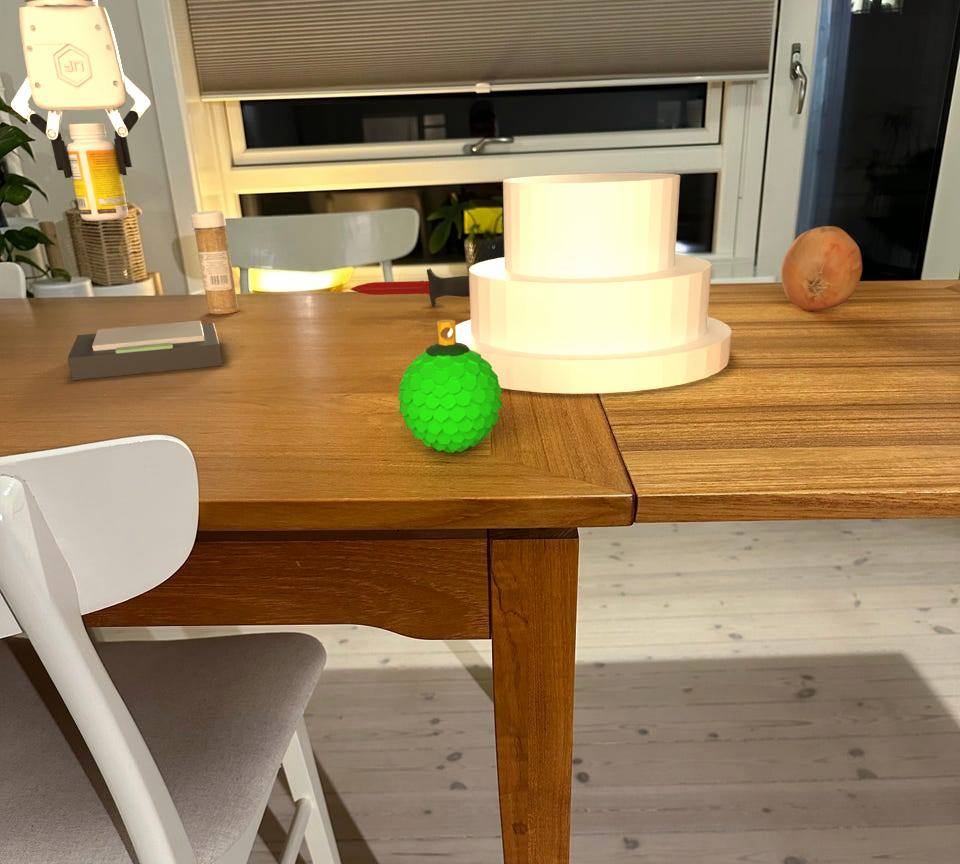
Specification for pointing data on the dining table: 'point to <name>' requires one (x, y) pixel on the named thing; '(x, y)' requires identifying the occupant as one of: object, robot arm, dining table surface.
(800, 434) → the dining table surface
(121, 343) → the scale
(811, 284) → the onion
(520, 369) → the cake
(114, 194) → the supplement bottle
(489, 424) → the ornament
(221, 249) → the sprinkles bottle
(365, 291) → the knife
